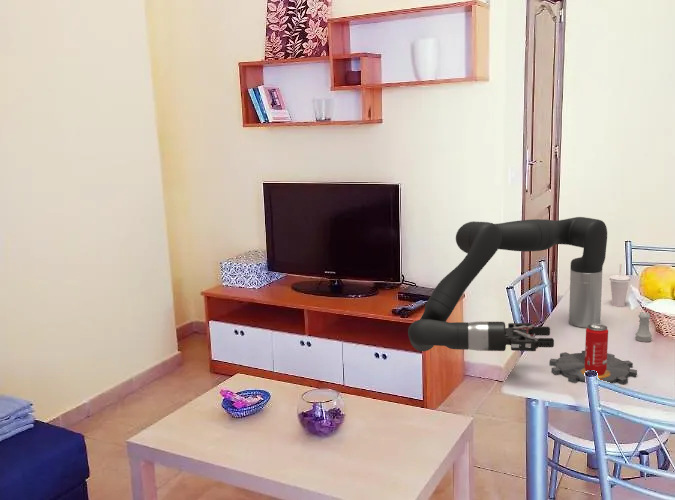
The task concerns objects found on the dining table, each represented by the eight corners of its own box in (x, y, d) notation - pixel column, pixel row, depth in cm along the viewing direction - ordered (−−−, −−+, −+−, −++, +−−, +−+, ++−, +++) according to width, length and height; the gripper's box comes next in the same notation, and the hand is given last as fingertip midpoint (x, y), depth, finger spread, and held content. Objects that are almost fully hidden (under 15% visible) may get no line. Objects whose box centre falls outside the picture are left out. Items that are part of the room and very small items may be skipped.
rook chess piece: (648, 337, 199) (650, 310, 197) (654, 342, 194) (655, 315, 192) (632, 337, 199) (634, 310, 197) (637, 342, 195) (639, 315, 193)
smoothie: (630, 303, 230) (632, 263, 227) (626, 308, 225) (628, 267, 222) (610, 301, 234) (612, 261, 231) (606, 306, 228) (608, 265, 225)
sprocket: (546, 354, 189) (546, 345, 189) (625, 355, 185) (626, 346, 185) (555, 384, 169) (555, 375, 168) (644, 387, 165) (645, 377, 164)
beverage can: (596, 377, 168) (598, 331, 166) (579, 370, 173) (581, 326, 170) (610, 373, 171) (613, 327, 168) (594, 366, 175) (596, 322, 173)
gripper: (487, 331, 168) (555, 332, 165) (485, 313, 182) (548, 313, 179) (487, 360, 170) (555, 361, 167) (485, 340, 183) (548, 340, 180)
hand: (551, 336), depth 173 cm, fingers open, 8 cm apart
